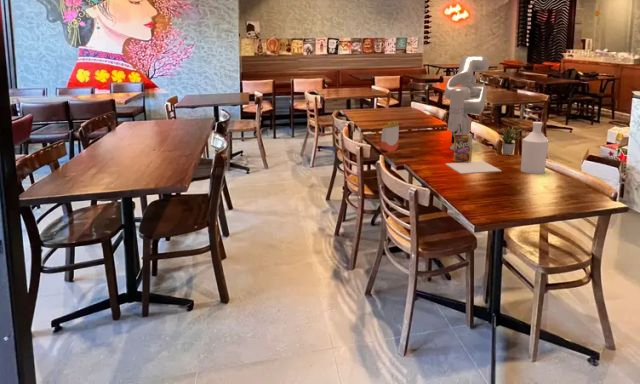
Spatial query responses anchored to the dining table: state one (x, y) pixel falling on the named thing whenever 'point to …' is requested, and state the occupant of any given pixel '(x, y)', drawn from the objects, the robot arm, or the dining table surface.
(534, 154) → the bottle
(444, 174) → the dining table surface
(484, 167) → the felt mat
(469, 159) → the candy box
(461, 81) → the robot arm
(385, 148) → the french fries container
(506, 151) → the house plant
